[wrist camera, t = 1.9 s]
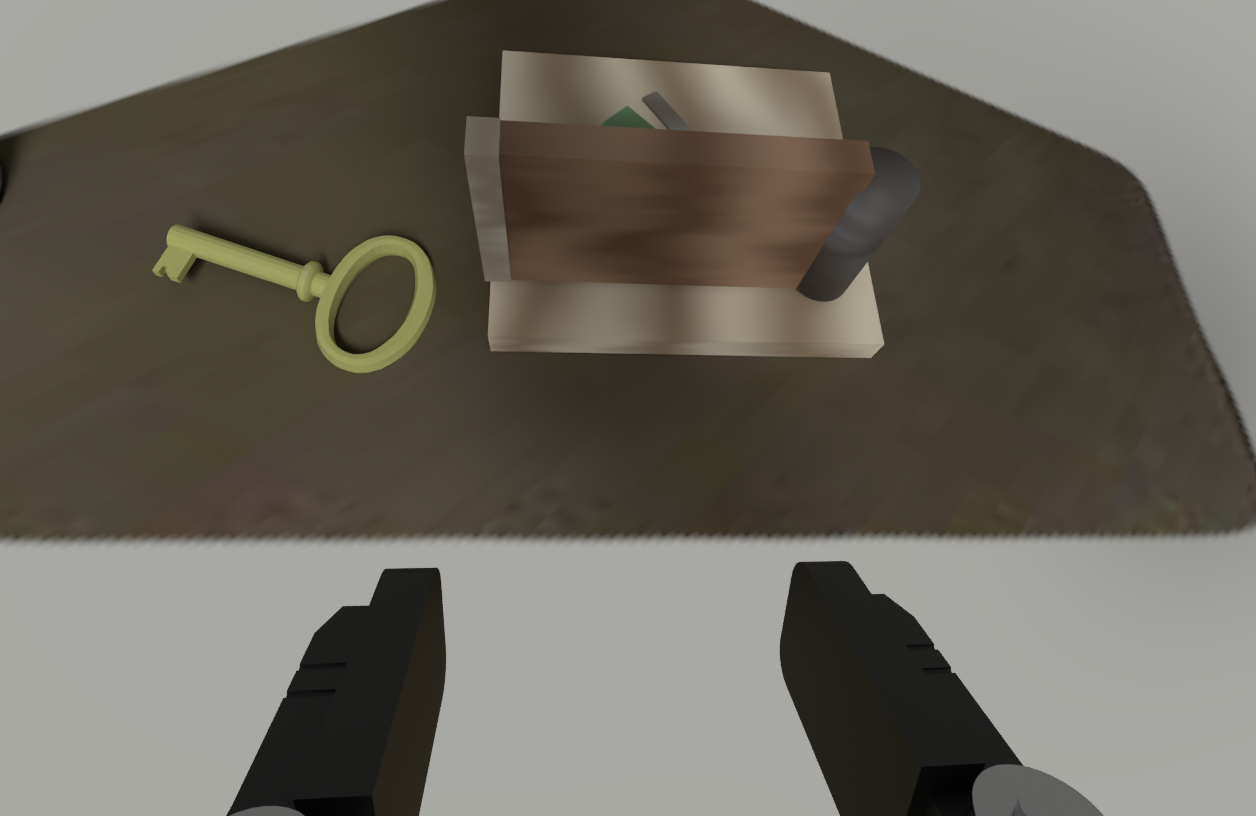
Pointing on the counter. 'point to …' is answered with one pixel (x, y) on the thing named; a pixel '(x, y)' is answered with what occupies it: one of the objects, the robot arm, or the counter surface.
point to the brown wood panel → (680, 205)
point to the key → (315, 285)
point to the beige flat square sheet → (675, 311)
